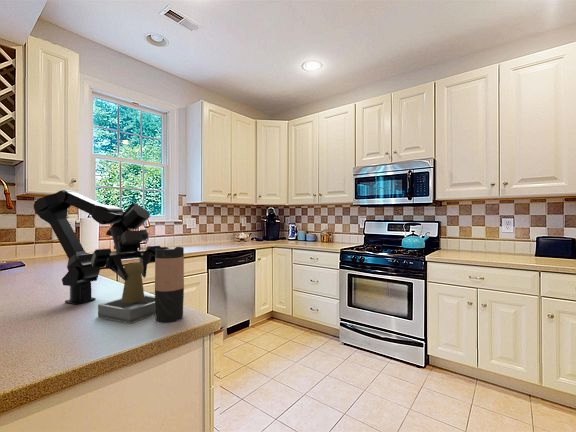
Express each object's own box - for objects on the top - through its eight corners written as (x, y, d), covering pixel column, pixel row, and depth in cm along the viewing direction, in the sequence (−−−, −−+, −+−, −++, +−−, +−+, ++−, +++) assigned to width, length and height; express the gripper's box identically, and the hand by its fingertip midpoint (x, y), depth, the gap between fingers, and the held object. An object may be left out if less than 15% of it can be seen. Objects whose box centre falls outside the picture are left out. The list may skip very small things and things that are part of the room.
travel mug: (166, 325, 77) (166, 250, 77) (148, 319, 81) (149, 248, 81) (189, 317, 84) (189, 247, 84) (172, 312, 88) (172, 246, 88)
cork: (117, 300, 86) (117, 263, 86) (136, 295, 91) (136, 260, 91) (130, 303, 83) (130, 265, 83) (148, 298, 88) (149, 262, 88)
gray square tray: (98, 317, 84) (98, 304, 84) (137, 304, 95) (137, 293, 95) (129, 323, 78) (129, 310, 78) (167, 309, 90) (167, 298, 90)
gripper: (94, 221, 83) (105, 265, 75) (160, 220, 96) (175, 258, 89) (87, 246, 88) (96, 289, 81) (150, 242, 102) (163, 279, 94)
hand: (135, 278), depth 86 cm, fingers closed on cork, 5 cm apart
